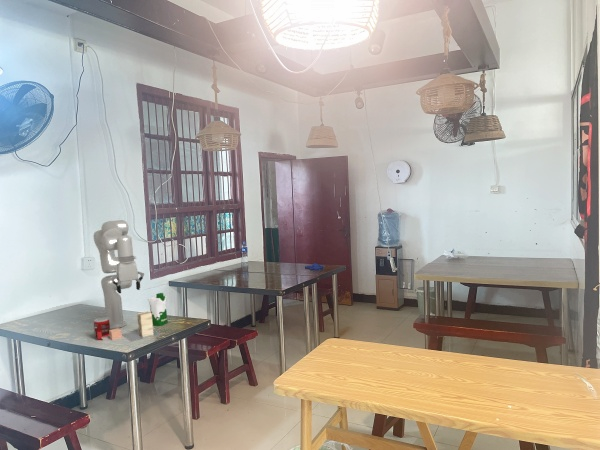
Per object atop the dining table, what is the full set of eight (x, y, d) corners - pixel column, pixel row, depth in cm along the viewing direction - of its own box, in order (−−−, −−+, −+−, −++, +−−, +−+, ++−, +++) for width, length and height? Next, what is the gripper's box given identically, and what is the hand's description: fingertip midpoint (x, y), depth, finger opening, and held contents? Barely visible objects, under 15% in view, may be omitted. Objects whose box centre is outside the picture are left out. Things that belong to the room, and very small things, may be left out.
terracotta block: (110, 340, 239) (109, 330, 239) (119, 338, 242) (118, 328, 242) (112, 342, 235) (111, 332, 235) (122, 340, 238) (121, 329, 238)
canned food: (98, 336, 248) (96, 317, 248) (112, 335, 249) (111, 316, 248) (93, 341, 241) (91, 321, 240) (108, 339, 241) (106, 320, 241)
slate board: (121, 337, 244) (121, 334, 244) (149, 330, 254) (149, 327, 254) (131, 344, 230) (131, 341, 230) (161, 336, 240) (160, 334, 240)
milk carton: (161, 329, 255) (158, 295, 254) (148, 328, 258) (145, 295, 257) (170, 324, 263) (167, 292, 262) (158, 324, 266) (155, 291, 265)
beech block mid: (138, 324, 241) (137, 313, 241) (148, 321, 245) (147, 311, 244) (141, 326, 236) (140, 315, 236) (152, 323, 240) (151, 313, 240)
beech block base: (139, 334, 241) (138, 324, 241) (149, 332, 245) (148, 321, 245) (142, 337, 237) (141, 326, 236) (153, 334, 240) (152, 323, 240)
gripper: (139, 256, 239) (142, 287, 240) (106, 261, 228) (110, 293, 229) (144, 257, 233) (147, 289, 234) (111, 262, 222) (114, 295, 224)
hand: (129, 291), depth 232 cm, fingers open, 9 cm apart
